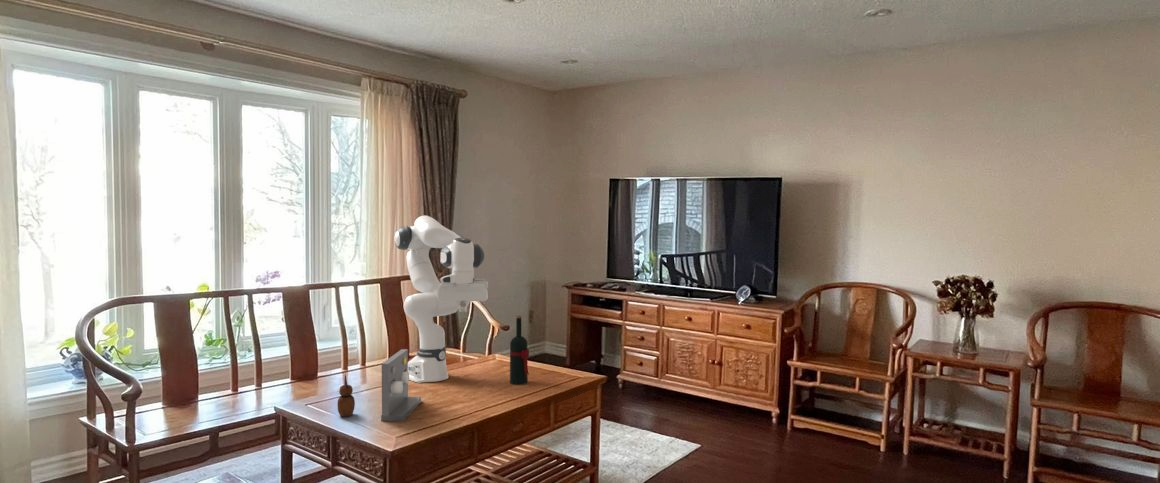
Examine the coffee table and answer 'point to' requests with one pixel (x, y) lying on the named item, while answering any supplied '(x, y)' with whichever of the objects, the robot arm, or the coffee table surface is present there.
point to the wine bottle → (518, 357)
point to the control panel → (396, 404)
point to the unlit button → (396, 387)
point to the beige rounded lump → (405, 377)
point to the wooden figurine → (346, 400)
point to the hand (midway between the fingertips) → (462, 311)
